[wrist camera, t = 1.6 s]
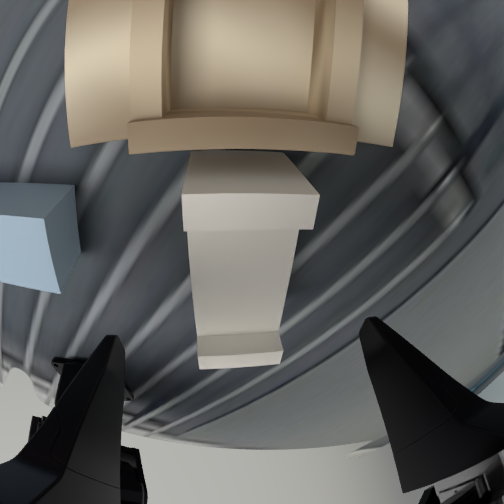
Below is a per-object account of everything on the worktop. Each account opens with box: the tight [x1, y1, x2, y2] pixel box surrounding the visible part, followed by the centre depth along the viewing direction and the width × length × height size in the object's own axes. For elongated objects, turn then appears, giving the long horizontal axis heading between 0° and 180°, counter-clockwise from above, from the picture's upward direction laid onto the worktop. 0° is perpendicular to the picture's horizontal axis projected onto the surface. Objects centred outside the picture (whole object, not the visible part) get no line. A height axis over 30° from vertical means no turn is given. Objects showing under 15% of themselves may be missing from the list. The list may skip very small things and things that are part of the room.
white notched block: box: [182, 150, 320, 369], centre depth 12 cm, size 9×4×5 cm, turn 176°
